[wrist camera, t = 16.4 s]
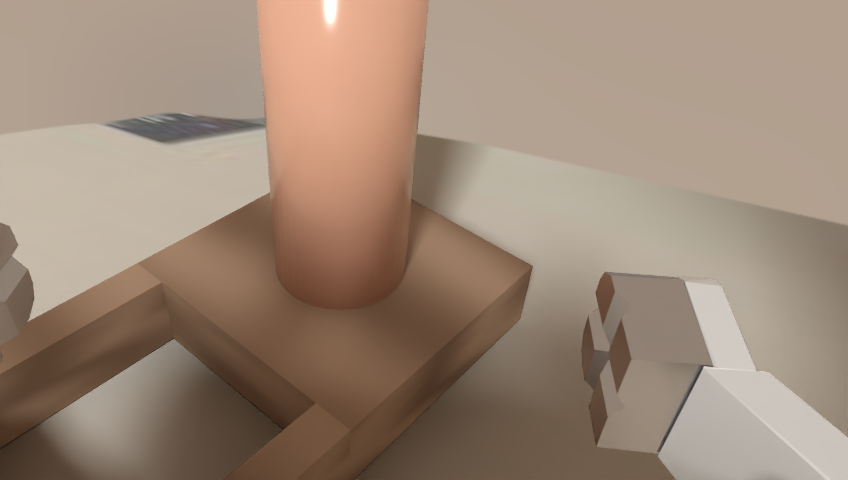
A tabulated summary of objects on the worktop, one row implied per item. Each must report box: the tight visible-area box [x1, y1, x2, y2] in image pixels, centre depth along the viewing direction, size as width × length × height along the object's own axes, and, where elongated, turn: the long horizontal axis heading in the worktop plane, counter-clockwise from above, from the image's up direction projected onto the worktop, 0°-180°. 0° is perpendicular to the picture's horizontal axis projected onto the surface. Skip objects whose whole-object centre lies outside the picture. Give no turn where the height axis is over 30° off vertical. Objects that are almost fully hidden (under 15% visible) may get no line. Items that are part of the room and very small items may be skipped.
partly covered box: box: [0, 193, 533, 480], centre depth 25 cm, size 20×11×3 cm, turn 141°
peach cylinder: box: [257, 0, 429, 310], centre depth 23 cm, size 5×5×14 cm
